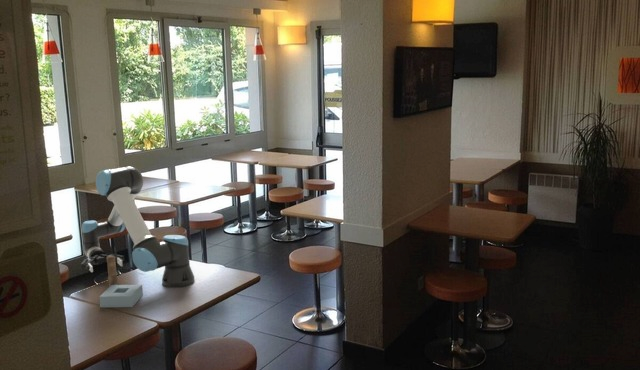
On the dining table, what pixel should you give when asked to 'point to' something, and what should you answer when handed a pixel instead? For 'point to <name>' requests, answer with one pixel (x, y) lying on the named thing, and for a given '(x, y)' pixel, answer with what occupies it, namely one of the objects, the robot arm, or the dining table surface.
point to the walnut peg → (112, 270)
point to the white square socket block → (121, 296)
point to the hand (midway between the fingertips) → (107, 266)
